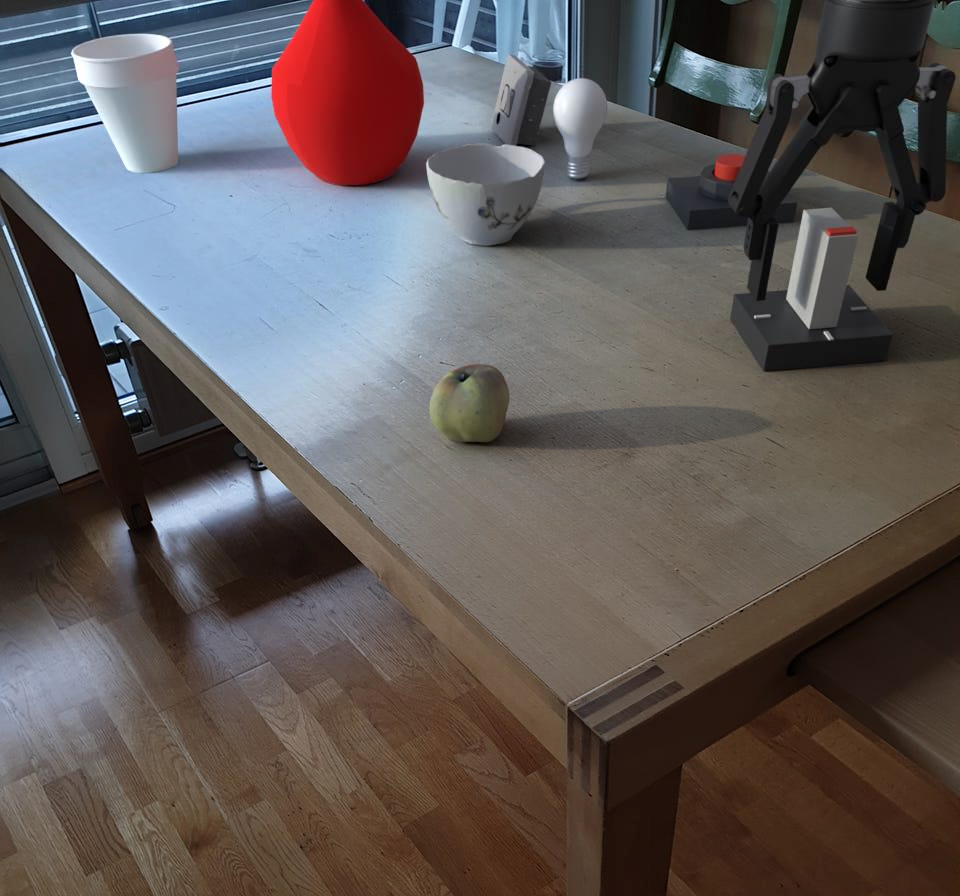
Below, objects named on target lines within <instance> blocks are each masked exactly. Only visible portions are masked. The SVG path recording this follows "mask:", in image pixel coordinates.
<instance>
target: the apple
mask: <svg viewBox="0 0 960 896" xmlns="http://www.w3.org/2000/svg"><path fill="white" fill-rule="evenodd" d="M510 400H511V397H510V390H509V386H508V383H507V381H506V378H505V376H504V375H503V373H502V372H501V371H500V370H499V369H498V368H497V367H495V366H493V365H490V364H484V363H477V364H467V365H463V366H460V367H458V368H455V369H453V370H450V371H449V372H447V373H446V374H444V376H443V377H442V379H441V380H440V381H439V382H438V384H437V385H436V386H435V388H434V389H433V392H432V394H431V396H430V399H429V408H428V409H429V410H428V411H429V416H430V420H431V422H432V424H433V425H434V426H433V427H435V429H437V431H438V432H439V433H440V434H441V435H442V436H443V437H445V439H446V440H448V441H450V442H453V443H467V442H470V443H474V442H479V443H489V442H492V441H494V440H495V439H496V438H497V437H499V435H500V433H501V432H502V430H503V427H504V425H505V423H506V418H507V412H508V409H509V405H510Z"/></svg>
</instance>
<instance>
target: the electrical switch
mask: <svg viewBox="0 0 960 896" xmlns="http://www.w3.org/2000/svg"><path fill="white" fill-rule="evenodd" d="M551 85H552V81H551V80H550V79H548V78H547V77H546V76H545V75H544V73H542V72H540V71H539V70H538V69H537V68H536V67H535V66H531V65H527V64H525V62H523V61H522V60H521V59H520V58H519V57H517V56H516V54H508V56H507V57H506V60H505V63H504V68H503V71H502V77H501V80H500V85H499V89H498V94H497V98H496V101H495V106H494V107H495V108H494V111H493V116H492V120H491V130H492V131H493V132H494V133H495V135H496V136H497V137H498V138H499V139H500V141H501V142H503V144H504V145H505V144H507V145H514V146H518V145H517V144H520V145H527V146H533V147H535V146H536V143H537V139H538V137H539V136H538V135H539V132H540V128H541V124H542V119H543V116H544V112H545V109H546V106H547V105H546V104H547V101H548V98H549V93H550V90H551Z"/></svg>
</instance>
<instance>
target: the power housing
mask: <svg viewBox="0 0 960 896" xmlns="http://www.w3.org/2000/svg"><path fill="white" fill-rule="evenodd" d="M715 166H716V163H713V164H710V165H707V166H704V167H703V169H702V170H701V171H700V173H699V175H695V176H683V177H681V176H680V177H668V178H667V179H666V188H665V199H666V200H667V202H668V204H669V205H670V206H671V208H672V210H673V211H674V213H675V214H676V216H677V217H678V218H679V220H680V221H681V223H682V225H683V226H684V227H685V229H686V230H687V232H689V231H701V230H712V229H713V230H714V229H727V228H737V227H747V222H748V217H740V216H738V215H737V213H736V212H735V211H734V210H733V208H732V207H731V206H730V205H729V203H728V197H729V194H730V192H731V190H732V187H733V185H734V182H735V181H730V180H722V179H719V178H716V177H714V174H715ZM769 172H770V171H769V170H768V172H767V174H766V176H765V178H766V177H767V175H768V174H769ZM764 180H765V179H764ZM797 208H798V202H797V201H796V199H795V198H794V197H793V196H792V195H791V194H790V192H789V193H788V194H787V195H786V197H785V198H784V200H783V201H782V202H781V204H780V205H779V207H778V208H777V210H776V211H775V212H774V214H773V215H772V217H773V218H774V219H775V220H776V221H777V222H778V224H790V223H794V222H795V217H796V212H797Z"/></svg>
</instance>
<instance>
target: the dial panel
mask: <svg viewBox="0 0 960 896" xmlns="http://www.w3.org/2000/svg"><path fill="white" fill-rule="evenodd" d="M787 292H788V289H781V290H780V289H779V290H769V291H768V290H767V291H766V297H765V300H762V301H756V300H755V298H754V297H753V295H752V294H751V293H750V292H744V293H734V294H733V298H732V304H731V311H730V317H729V320H730V321H731V323H732V324H733V326H734V328H735V329H736V331H737V332H738V334H739V336H740V337H741V338H742V340H743V342H744V343H745V345H746V347H747V348H748V349H749V352H750V353H751V354H752V356H753V357H754V359H755V360H756V362H757V363H758V365H759V367H760V369H761V370H762V372H771V371H782V370H783V371H785V370H794V369H795V370H796V369H807V368H817V367H818V368H819V367H830V366H843V365H853V364H866V363H876V362H885V361H886V360H887V357H888V354H889V349H890V346H891V342H892V339H893V333H892V332H891V331H890V330H889V329H888V327H887V326H886V325H885V324H884V323H883V322H882V321H881V320H880V319H879V317H878V316H877V315H876V314H875V313H874V311H872V309H871V308H870V307H869V306H868V305H867V304H866V302H865V301H864V300H863V299H862V298H861V297H860V296H859V294H858V293H857V292H856V291H855V290H854V289H853V288H852V286H850V285H849V284H847V285H846V290H845V294H844V298H843V302H842V306H841V310H840V314H839V319H838V323H837V327H832V328H820V329H808V328H807V326H806V325H805V324H804V322H803V321H802V320H801V318H800V317H799V316H798V314H797V313H796V312H795V310H794V309H793V308H792V306H791V305H790V304H789V302H788V301H787V300H786V297H787Z"/></svg>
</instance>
